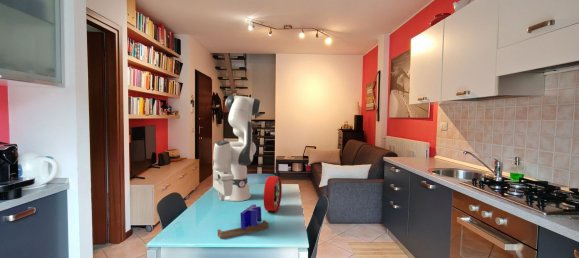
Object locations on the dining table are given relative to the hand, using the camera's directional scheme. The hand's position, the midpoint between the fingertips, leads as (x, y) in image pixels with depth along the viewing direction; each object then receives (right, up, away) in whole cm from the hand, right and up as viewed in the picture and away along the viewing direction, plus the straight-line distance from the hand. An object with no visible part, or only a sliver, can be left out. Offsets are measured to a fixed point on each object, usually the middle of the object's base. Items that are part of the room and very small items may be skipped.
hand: (221, 200), depth 142 cm
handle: (+13, -13, -8) cm, 20 cm away
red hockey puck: (+24, -12, +25) cm, 37 cm away
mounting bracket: (+13, -7, -3) cm, 15 cm away
